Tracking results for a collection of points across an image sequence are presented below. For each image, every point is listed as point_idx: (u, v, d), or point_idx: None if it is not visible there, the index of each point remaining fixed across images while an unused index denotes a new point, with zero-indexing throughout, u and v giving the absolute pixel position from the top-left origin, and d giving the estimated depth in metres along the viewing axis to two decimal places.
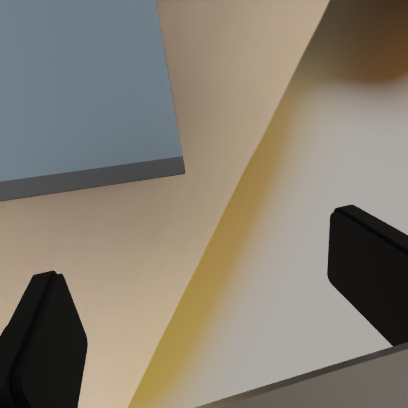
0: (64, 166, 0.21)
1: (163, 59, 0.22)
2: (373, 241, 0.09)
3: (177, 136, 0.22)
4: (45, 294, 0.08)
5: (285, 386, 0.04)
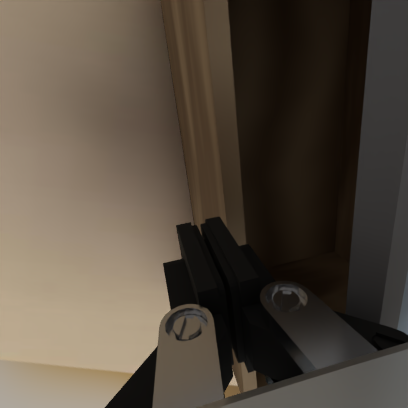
0: None
1: None
2: (214, 253, 0.09)
3: None
4: (196, 237, 0.10)
5: (285, 386, 0.04)
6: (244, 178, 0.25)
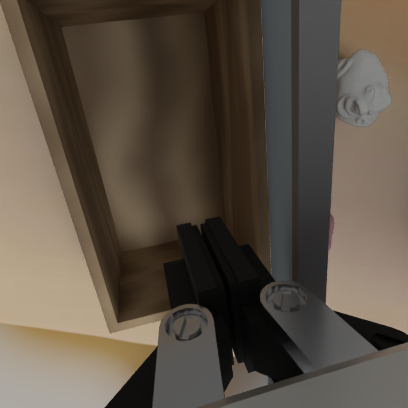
0: None
1: None
2: (214, 253, 0.09)
3: None
4: (196, 237, 0.10)
5: (285, 386, 0.04)
6: (138, 168, 0.31)
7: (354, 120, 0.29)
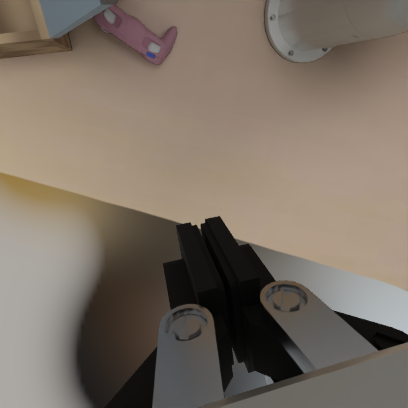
0: None
1: (76, 24, 0.25)
2: (214, 253, 0.09)
3: None
4: (196, 237, 0.10)
5: (285, 386, 0.04)
6: None
7: None
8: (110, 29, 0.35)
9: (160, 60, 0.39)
